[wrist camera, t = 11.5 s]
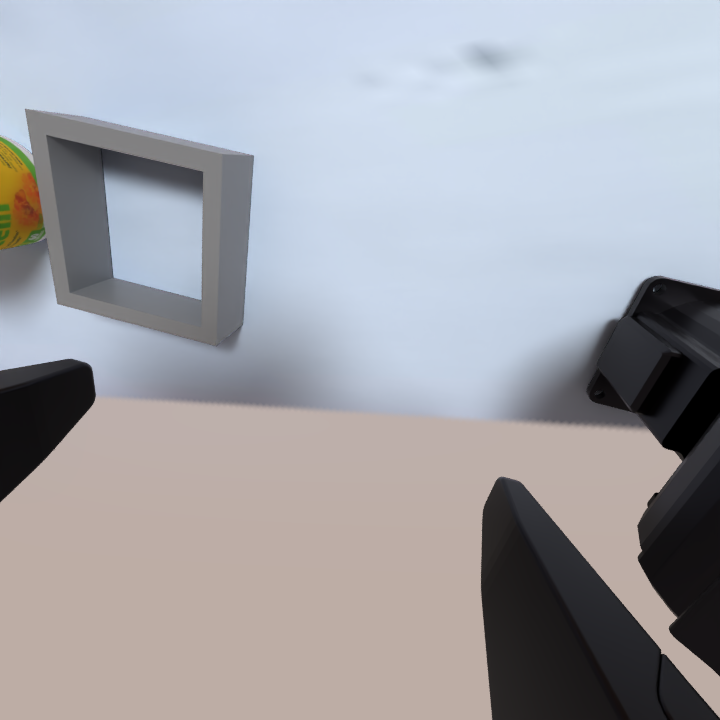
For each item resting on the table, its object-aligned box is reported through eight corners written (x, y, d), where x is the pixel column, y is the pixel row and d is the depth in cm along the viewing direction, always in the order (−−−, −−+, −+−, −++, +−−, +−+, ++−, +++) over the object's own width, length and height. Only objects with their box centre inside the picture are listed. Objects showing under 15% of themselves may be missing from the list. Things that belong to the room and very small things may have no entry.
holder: (253, 155, 19) (222, 154, 16) (242, 324, 23) (216, 346, 20) (82, 116, 19) (25, 108, 16) (101, 287, 23) (57, 303, 20)
